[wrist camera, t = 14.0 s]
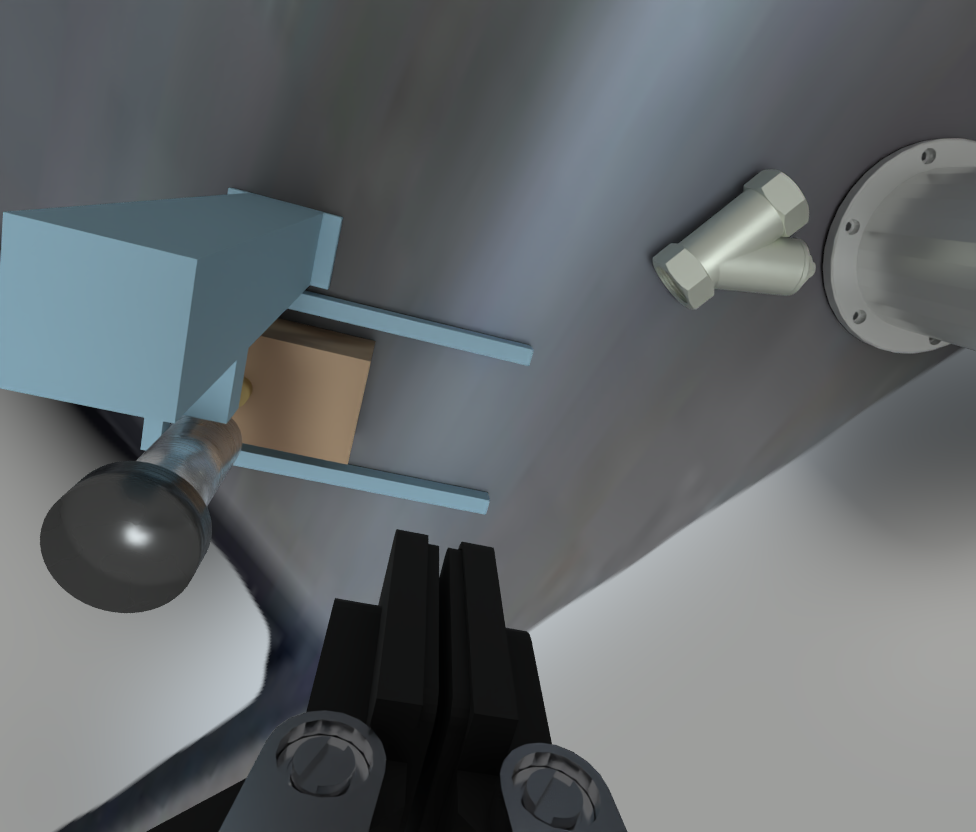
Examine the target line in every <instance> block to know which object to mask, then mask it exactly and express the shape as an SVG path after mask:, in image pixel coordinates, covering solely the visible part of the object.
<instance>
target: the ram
mask: <svg viewBox="0 0 976 832" xmlns="http://www.w3.org/2000/svg"><path fill="white" fill-rule="evenodd" d="M241 449H242V434H241V431H240V429H239V427H238V425H237V424H236V422H235V421H234V420H233V419H232V418H231V419H230V420H229V421H228V423H227V424H225V423H220V422H215V421H210V420H205V419H200V418H196V417H191V416H186V415H183V416H182V417H181V418H180V419H179V420H178V421H177V422H176V423H175V424H174V423H173V424H172V425H171V426H170V427H169V428H168V429H167V430H166V431H165V432H164V433H163V434H162V435H161V436H160V437H159V438H158V439H157V440H156V441H155V442H154V443H153V444H152V445H151V446H150V447H149V448H148V449H147V450H146V451H145V452H144V453H143V454H142V455H141V456H140V457H139V458H138V460H137V461H123V462H115V463H111V464H107V465H104V466H102V467H99V468H97V469H95V470H93V471H92V472H90V473H89V474H87V475H86V476H85V477H83V478H82V479H81V480H80V481H79V482H78V483H77V484H76V485H75V486H74V487H72V488H71V489H70V490H69V491H68V492H67V493H66V494H65V495H63V496H62V497H61V499H59V500H58V501H57V502H56V503H55V504H54V505H53V507H52V508H51V509H50V510H49V512H48V514H47V516H46V518H45V519H44V522H43V525H42V528H41V534H40V546H41V553H42V556H43V559H44V562H45V564H46V566H47V569H48V570H49V572H50V574H51V575H52V576H53V578H54V579H55V580H56V581H57V583H58V584H59V585H60V586H61V587H62V588H63V589H64V590H65V591H67V592H68V593H69V594H71V595H72V596H73V597H75V598H76V599H78V600H80V601H82V602H83V603H85V604H88V605H90V606H92V607H95V608H98V609H102V610H106V611H111V612H118V613H135V612H144V611H148V610H152V609H155V608H158V607H160V606H162V605H165V604H167V603H169V602H170V601H171V600H173V599H174V598H176V597H177V596H178V595H179V594H180V593H182V592H183V590H184V589H185V588H186V587H187V586H188V584H189V582H190V581H191V579H192V577H193V576H194V574H195V572H196V570H197V568H198V567H199V565H200V563H201V561H202V559H203V558H204V556H205V554H206V552H207V550H208V547H209V544H210V540H211V534H212V525H211V518H210V514H209V511H208V508H207V505H208V504H209V502H210V500H211V499H212V497H213V496H214V494H215V493H216V491H217V489H218V488H219V486H220V485H221V483H222V481H223V480H224V478H225V477H226V475H227V473H228V472H229V470H230V469H231V467H232V466H233V464H234V462H235V461H236V459H237V458H238V456H239V454H240V452H241Z"/></svg>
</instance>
